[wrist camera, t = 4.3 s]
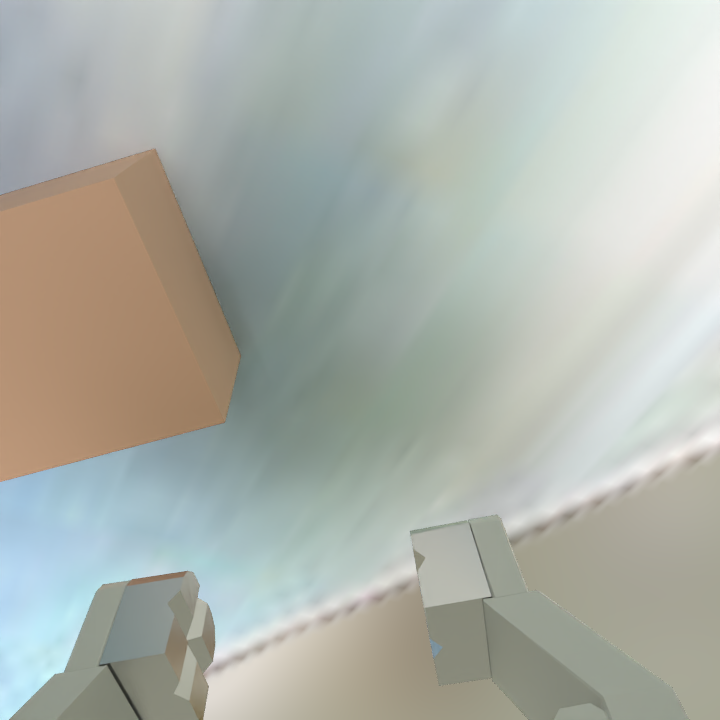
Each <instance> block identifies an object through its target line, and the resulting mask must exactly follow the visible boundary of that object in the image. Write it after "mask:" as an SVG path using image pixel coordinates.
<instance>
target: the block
mask: <svg viewBox="0 0 720 720" xmlns="http://www.w3.org/2000/svg"><path fill="white" fill-rule="evenodd" d="M240 358H241V355H240V352H239V350H238V347H237V345H236V343H235V340H234V338H233V335H232V333H231V330H230V328H229V326H228V323H227V321H226V318H225V316H224V314H223V311H222V309H221V306H220V304H219V301H218V299H217V297H216V294H215V292H214V289H213V287H212V285H211V282H210V280H209V277H208V275H207V273H206V270H205V268H204V265H203V263H202V260H201V258H200V256H199V253H198V251H197V248H196V246H195V244H194V241H193V239H192V236H191V234H190V231H189V229H188V227H187V224H186V222H185V219H184V217H183V215H182V212H181V210H180V207H179V205H178V203H177V200H176V198H175V195H174V193H173V190H172V188H171V186H170V183H169V181H168V178H167V176H166V174H165V171H164V169H163V166H162V164H161V161H160V159H159V157H158V154H157V152H156V149H152V150H149V151H145V152H142V153H139V154H135V155H132V156H129V157H125V158H122V159H119V160H115V161H112V162H109V163H105V164H102V165H99V166H95V167H92V168H89V169H85V170H82V171H79V172H75V173H72V174H69V175H65V176H62V177H59V178H55V179H52V180H49V181H45V182H42V183H39V184H35V185H32V186H29V187H25V188H22V189H19V190H15V191H12V192H9V193H5V194H2V195H0V482H1V481H5V480H9V479H13V478H17V477H20V476H24V475H28V474H32V473H36V472H39V471H43V470H47V469H51V468H54V467H58V466H62V465H66V464H70V463H73V462H77V461H81V460H85V459H89V458H92V457H96V456H100V455H104V454H107V453H111V452H115V451H119V450H123V449H126V448H130V447H134V446H138V445H142V444H145V443H149V442H153V441H157V440H160V439H164V438H168V437H172V436H176V435H179V434H183V433H187V432H191V431H195V430H198V429H202V428H206V427H210V426H214V425H217V424H221V423H225V421H226V416H227V412H228V408H229V404H230V400H231V395H232V391H233V387H234V383H235V379H236V374H237V370H238V366H239V362H240Z"/></svg>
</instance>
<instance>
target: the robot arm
mask: <svg viewBox="0 0 720 720" xmlns="http://www.w3.org/2000/svg"><path fill="white" fill-rule="evenodd" d="M410 535H411V540H412V546H413V552H414V557H415V563H416V568H417V574H418V579H419V584H420V590H421V596H422V601H423V606H424V611H425V616H426V622H427V627H428V632H429V637H430V643H431V648H432V653H433V658H434V663H435V668H436V673H437V678H438V683H439V686H441V685H448V684H455V683H462V682H469V681H476V680H483V679H490V678H492V681H493V682H494V683H495V684H496V685H497V686H498V687H499V689H500V690H501V691H502V692H503V693H504V694H505V695H506V696H507V697H508V698H509V699H510V700H511V701H512V702H513V704H514V705H515V706H516V707H517V708H518V709H519V710H520V711H521V712H522V713H523V714H524V715H525V716H526V717H527V719H528V720H690V719H689V717H688V716H687V714H686V712H685V710H684V708H683V706H682V705H681V703H680V701H679V699H678V697H677V695H676V693H675V692H674V690H673V688H672V687H671V686H670V685H668V684H667V683H665V682H664V681H663V680H661V679H660V678H659V677H657V676H656V675H654V674H653V673H652V672H650V671H649V670H648V669H646V668H645V667H644V666H642V665H641V664H639V663H638V662H637V661H635V660H634V659H632V658H631V657H630V656H628V655H627V654H625V653H624V652H623V651H621V650H620V649H619V648H617V647H616V646H615V645H613V644H612V643H610V642H609V641H608V640H606V639H605V638H603V637H602V636H601V635H599V634H598V633H596V632H595V631H594V630H592V629H591V628H590V627H588V626H587V625H586V624H584V623H583V622H581V621H580V620H579V619H577V618H576V617H575V616H573V615H572V614H570V613H569V612H568V611H566V610H565V609H564V608H562V607H561V606H559V605H558V604H556V603H555V602H554V601H553V600H551V599H550V598H548V597H547V596H546V595H544V594H543V593H542V592H540V591H539V590H535V591H528V588H527V585H526V583H525V580H524V578H523V575H522V572H521V570H520V567H519V565H518V562H517V559H516V557H515V554H514V552H513V549H512V546H511V544H510V541H509V539H508V536H507V533H506V531H505V528H504V526H503V523H502V520H501V518H500V517H499V516H498V515H491V516H486V517H481V518H476V519H470V520H468V521H467V520H466V521H461V522H455V523H450V524H445V525H439V526H434V527H429V528H423V529H418V530H413V531H410ZM199 587H200V585H199V583H198V581H197V579H196V577H195V575H194V573H193V572H190V571H184V572H178V573H171V574H165V575H158V576H152V577H145V578H138V579H132V580H130V581H123V582H116V583H109V584H103V585H102V586H101V587H100V588H99V589H98V590H97V591H96V593H95V595H94V598H93V600H92V603H91V605H90V608H89V610H88V613H87V615H86V618H85V620H84V623H83V625H82V628H81V631H80V633H79V636H78V638H77V641H76V643H75V646H74V648H73V651H72V653H71V656H70V658H69V661H68V663H67V666H66V668H65V671H64V673H59V674H55V675H54V676H53V677H52V678H51V679H50V680H49V681H48V682H46V683H45V684H44V685H43V686H42V687H41V688H40V689H39V690H38V691H37V692H36V693H35V694H34V695H33V696H32V697H31V698H30V699H29V700H28V701H27V702H26V703H25V704H24V705H23V706H22V707H21V708H20V709H19V710H18V711H17V712H16V713H15V714H14V715H13V716H12V717H11V718H10V719H9V720H203V717H204V711H205V705H206V699H207V694H208V688H209V686H208V684H207V682H206V680H205V677H204V675H203V673H204V672H205V670H206V669H207V668H208V667H209V665H210V664H211V663H212V662H213V657H214V650H215V626H214V622H213V617H212V613H211V611H210V608H209V606H208V604H207V603H206V602H204V601H202V600H201V599H199V598H197V597H198V592H199Z"/></svg>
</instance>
